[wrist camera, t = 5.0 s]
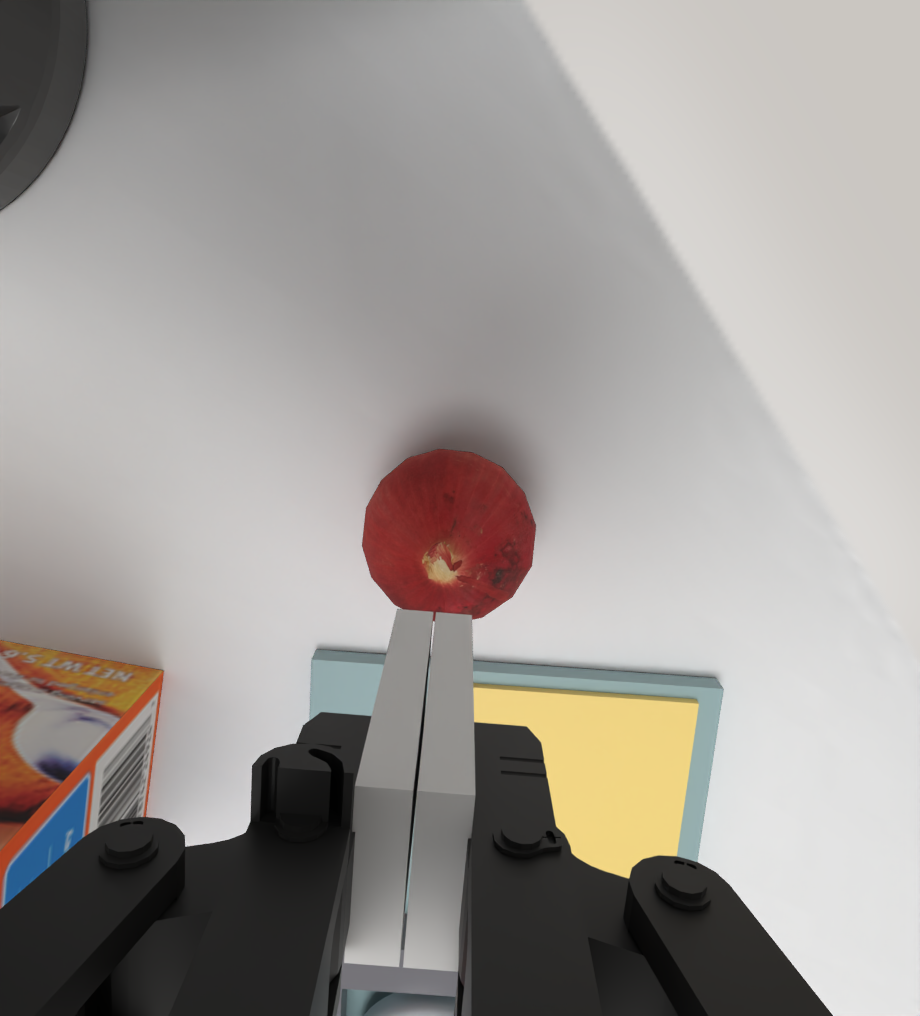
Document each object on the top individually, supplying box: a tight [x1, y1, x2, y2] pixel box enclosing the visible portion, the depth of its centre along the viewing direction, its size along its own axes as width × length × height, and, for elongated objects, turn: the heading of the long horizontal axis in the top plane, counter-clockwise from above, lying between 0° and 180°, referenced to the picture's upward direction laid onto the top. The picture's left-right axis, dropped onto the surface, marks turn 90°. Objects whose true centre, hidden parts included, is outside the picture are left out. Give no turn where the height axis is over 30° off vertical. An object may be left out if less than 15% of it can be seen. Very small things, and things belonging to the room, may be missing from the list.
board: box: [310, 650, 724, 1016], centre depth 34 cm, size 22×16×1 cm
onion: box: [362, 449, 536, 621], centre depth 27 cm, size 6×6×8 cm
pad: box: [473, 683, 699, 878], centre depth 32 cm, size 9×9×1 cm
